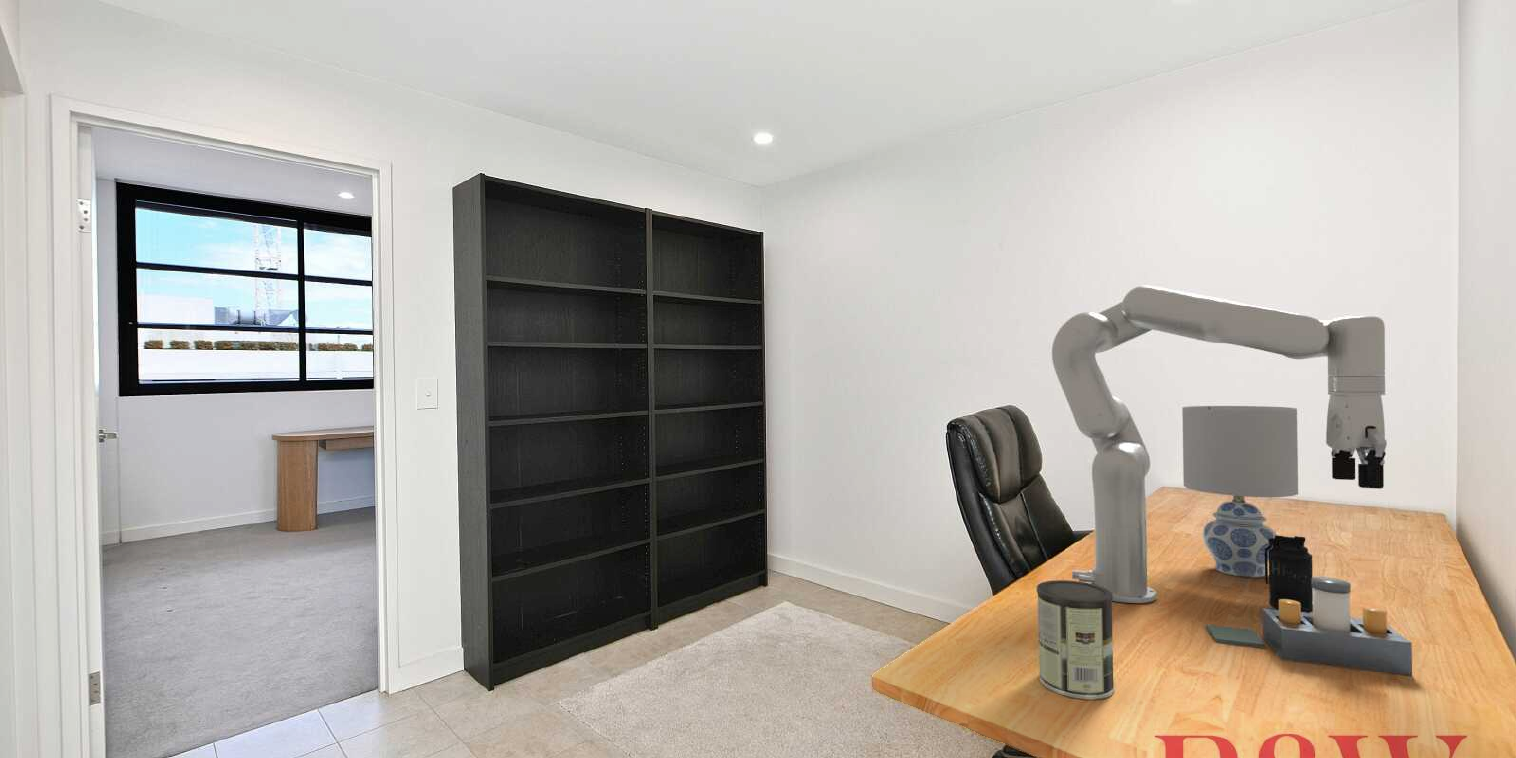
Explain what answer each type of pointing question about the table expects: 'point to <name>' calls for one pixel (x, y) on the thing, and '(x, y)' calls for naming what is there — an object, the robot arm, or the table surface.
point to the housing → (1337, 644)
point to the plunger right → (1374, 620)
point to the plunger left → (1289, 611)
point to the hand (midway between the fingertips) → (1356, 483)
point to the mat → (1235, 636)
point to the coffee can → (1075, 639)
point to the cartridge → (1331, 604)
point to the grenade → (1289, 572)
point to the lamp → (1240, 476)
